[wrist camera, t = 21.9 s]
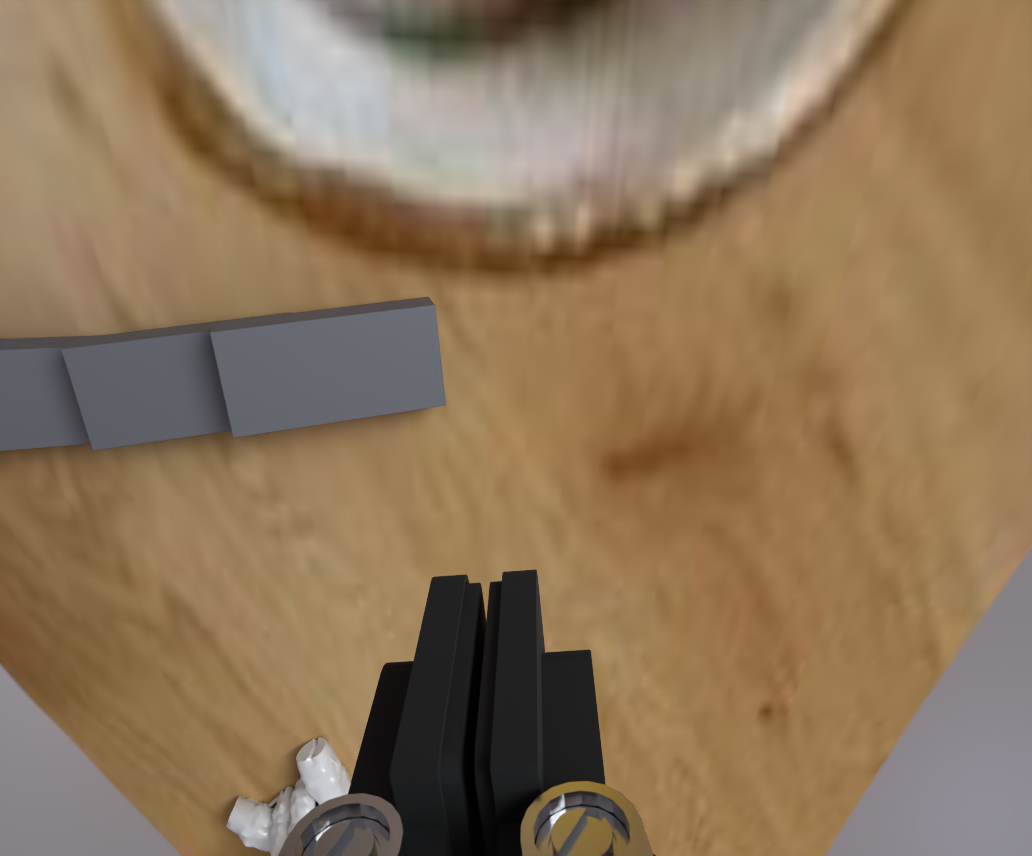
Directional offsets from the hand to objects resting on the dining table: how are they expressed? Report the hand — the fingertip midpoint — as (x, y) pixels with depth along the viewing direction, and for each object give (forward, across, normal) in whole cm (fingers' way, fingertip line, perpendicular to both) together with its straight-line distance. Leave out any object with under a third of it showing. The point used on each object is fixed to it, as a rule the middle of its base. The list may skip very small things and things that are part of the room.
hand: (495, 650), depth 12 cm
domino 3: (+26, +4, +2) cm, 27 cm away
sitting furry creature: (+27, +16, +32) cm, 45 cm away
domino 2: (+26, +11, +2) cm, 29 cm away
